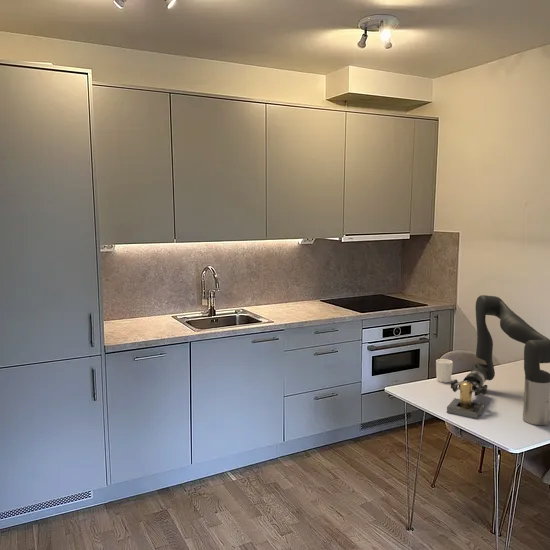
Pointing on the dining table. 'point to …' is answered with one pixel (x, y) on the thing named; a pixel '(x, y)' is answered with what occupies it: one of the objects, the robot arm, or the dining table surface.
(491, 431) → the dining table surface
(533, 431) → the dining table surface
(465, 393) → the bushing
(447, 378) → the white cup
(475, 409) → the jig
